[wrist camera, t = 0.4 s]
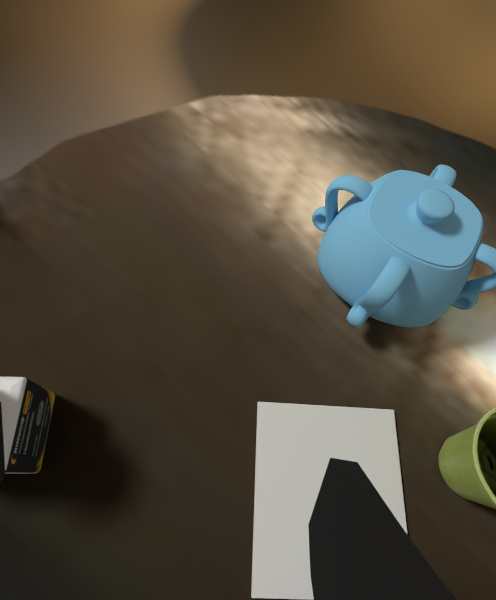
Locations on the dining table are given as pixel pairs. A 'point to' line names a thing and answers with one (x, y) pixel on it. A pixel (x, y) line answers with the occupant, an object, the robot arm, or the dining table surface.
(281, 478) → the mat
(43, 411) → the medicine bottle
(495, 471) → the plant pot
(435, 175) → the light blue teapot
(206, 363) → the dining table surface
